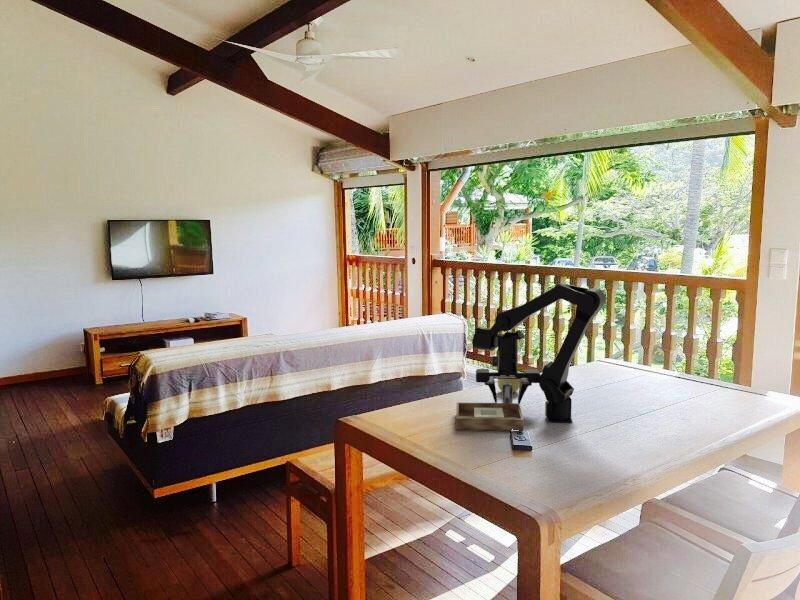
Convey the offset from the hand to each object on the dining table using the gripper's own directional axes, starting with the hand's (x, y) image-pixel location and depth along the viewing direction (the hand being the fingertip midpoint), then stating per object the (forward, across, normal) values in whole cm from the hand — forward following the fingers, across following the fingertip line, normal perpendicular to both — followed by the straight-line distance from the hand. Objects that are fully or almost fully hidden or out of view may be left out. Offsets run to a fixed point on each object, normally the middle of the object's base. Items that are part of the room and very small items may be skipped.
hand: (507, 403), depth 178 cm
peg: (+2, 0, 0) cm, 2 cm away
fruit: (+2, -2, -19) cm, 19 cm away
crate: (+2, +6, +11) cm, 13 cm away
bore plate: (+2, +6, +11) cm, 13 cm away
